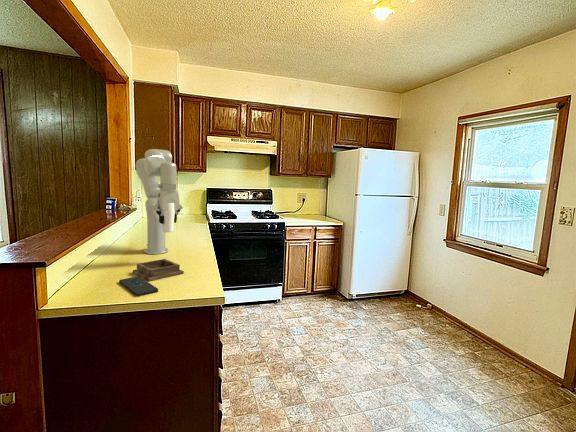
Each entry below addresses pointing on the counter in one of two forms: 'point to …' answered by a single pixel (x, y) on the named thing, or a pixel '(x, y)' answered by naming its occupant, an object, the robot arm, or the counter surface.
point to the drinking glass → (168, 218)
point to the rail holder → (157, 269)
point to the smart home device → (138, 286)
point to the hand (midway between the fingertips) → (168, 222)
